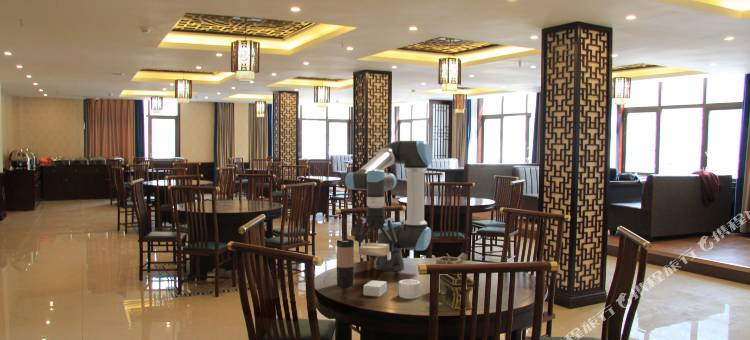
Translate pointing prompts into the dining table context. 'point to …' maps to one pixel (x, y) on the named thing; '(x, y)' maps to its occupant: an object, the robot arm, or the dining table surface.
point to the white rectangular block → (375, 288)
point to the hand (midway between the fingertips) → (375, 258)
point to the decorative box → (455, 288)
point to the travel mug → (345, 263)
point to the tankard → (453, 259)
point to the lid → (373, 249)
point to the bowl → (409, 289)
